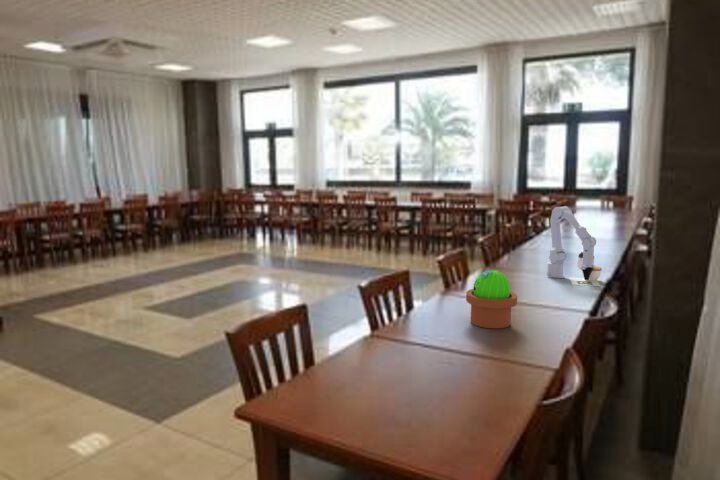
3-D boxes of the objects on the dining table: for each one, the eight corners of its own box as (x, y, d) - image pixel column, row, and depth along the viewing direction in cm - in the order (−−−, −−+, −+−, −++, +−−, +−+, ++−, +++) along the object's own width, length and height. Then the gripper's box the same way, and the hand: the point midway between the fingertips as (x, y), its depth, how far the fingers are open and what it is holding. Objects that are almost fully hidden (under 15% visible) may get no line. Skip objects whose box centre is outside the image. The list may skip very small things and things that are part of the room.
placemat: (573, 284, 310) (573, 284, 310) (568, 277, 328) (568, 277, 328) (600, 286, 306) (600, 285, 306) (594, 279, 324) (594, 278, 324)
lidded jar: (603, 281, 316) (605, 266, 315) (586, 281, 316) (587, 266, 315) (596, 277, 327) (597, 263, 325) (578, 277, 327) (579, 262, 325)
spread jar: (591, 266, 364) (592, 249, 362) (596, 269, 353) (598, 252, 351) (573, 265, 365) (574, 249, 363) (578, 269, 354) (579, 252, 352)
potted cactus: (506, 315, 250) (509, 263, 246) (522, 330, 228) (525, 274, 224) (460, 316, 249) (462, 264, 245) (472, 331, 227) (474, 274, 223)
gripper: (590, 259, 306) (588, 282, 308) (599, 256, 316) (597, 278, 318) (578, 258, 311) (576, 280, 313) (587, 255, 321) (586, 276, 323)
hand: (586, 279), depth 316 cm, fingers closed
